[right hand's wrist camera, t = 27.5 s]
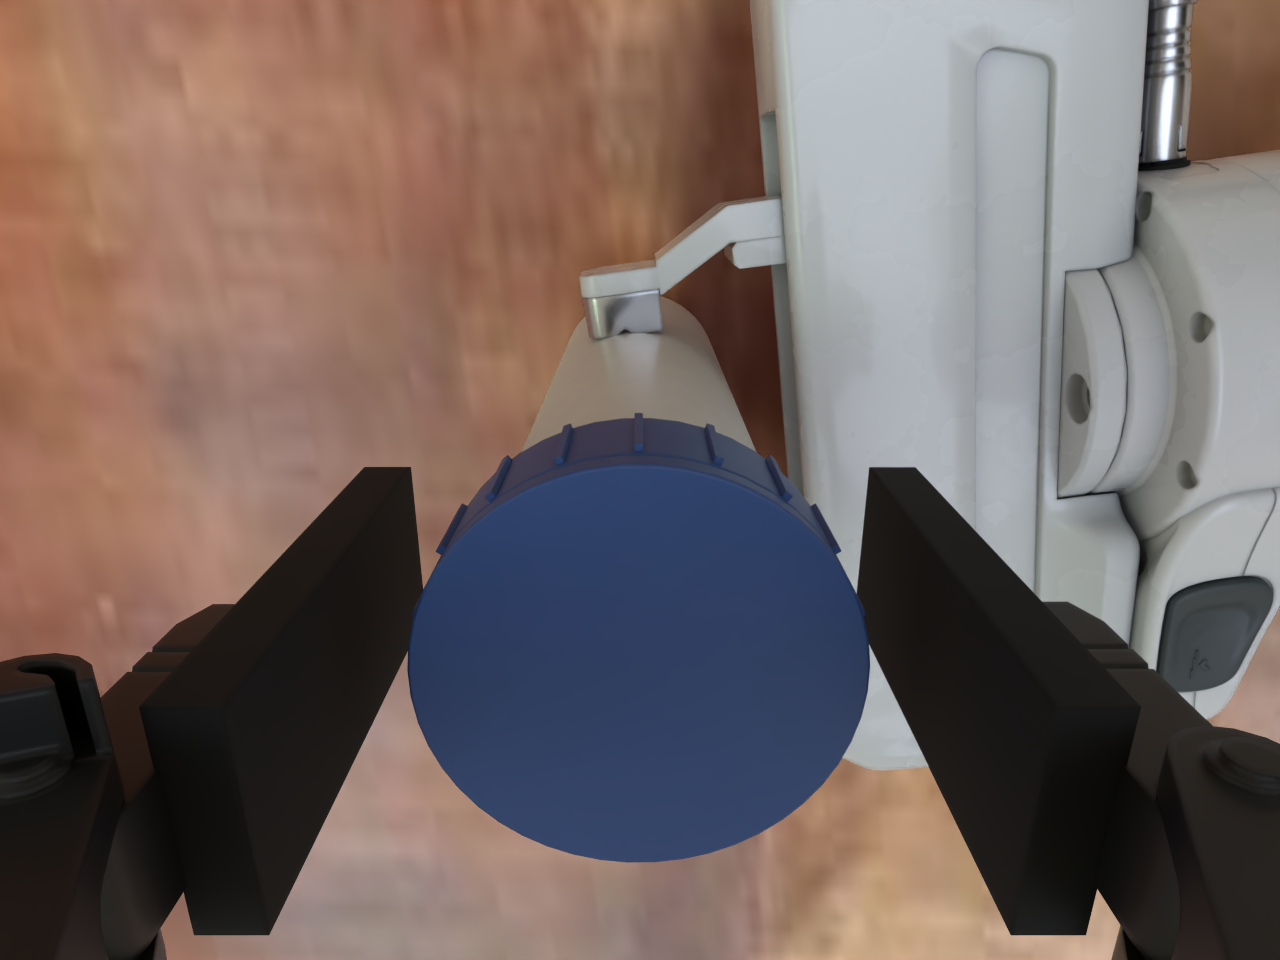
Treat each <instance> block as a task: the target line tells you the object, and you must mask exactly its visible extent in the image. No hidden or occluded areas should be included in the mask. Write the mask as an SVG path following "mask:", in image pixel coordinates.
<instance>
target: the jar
mask: <svg viewBox="0 0 1280 960" xmlns="http://www.w3.org/2000/svg"><path fill="white" fill-rule="evenodd" d="M659 297H660V306H661V315H662V325H663V331H656V332H649V333H632V332H630V331H628V330H626V329H624V330H623V331H622V332H621V333H620V334H619V335H617V336H613V337H610V338H604V339H592V338H589V334H588V328H587V323H586V317H584V318H583V319H582V320H581V321H580V322H579V324H578V325H577V327H576V328H575V330H574V332H573V334H572V336H571V338H570V340H569V342H568V345H567V347H566V349H565V352H564V354H563V356H562V359H561V361H560V363H559V366H558V368H557V370H556V373H555V375H554V377H553V380H552V382H551V384H550V387H549V389H548V391H547V394H546V396H545V399H544V401H543V403H542V406H541V408H540V410H539V413H538V415H537V417H536V420H535V422H534V424H533V427H532V429H531V431H530V434H529V436H528V438H527V441H526V443H525V446H524V448H523V450H522V452H523V451H525V450H526V449H528V448H530V447H531V446H533V445H535V444H537V443H538V442H540V441H542V440H544V439H546V438H549V437H551V436H553V435H556V434H558V433H561V432H562V429H563V426H564V425H567V424H571V425H572V427H573V428H575V427H579V426H583V425H586V424H590V423H594V422H600V421H607V420H614V419H621V418H635V413H643V418H655V419H663V420H672V421H679V422H683V423H687V424H691V425H695V426H700V427H704V428H705V426H706V424H707V423H708V424H711V425H714V427H715V431H716V432H717V433H720V434H722V435H725V436H727V437H730V438H732V439H734V440H736V441H737V442H739V443H741V444H743V445H745V446H747V447H748V448H750V449H752V450H754V451H755V452H756V450H755V448H754V445H753V443H752V441H751V438H750V436H749V433H748V431H747V429H746V426H745V424H744V421H743V419H742V417H741V414H740V412H739V410H738V407H737V405H736V402H735V400H734V398H733V395H732V393H731V391H730V388H729V386H728V383H727V381H726V379H725V376H724V374H723V372H722V369H721V367H720V364H719V362H718V360H717V357H716V355H715V353H714V350H713V348H712V345H711V343H710V341H709V338H708V336H707V334H706V332H705V330H704V329H703V327H702V325H701V324H700V323H699V321H698V320H697V319H696V318H695V317H694V316H693V315H692V314H691V313H690V312H689V311H688V310H687V309H685V308H684V307H683V306H681V305H680V304H678V303H676V302H674V301H672V300H670V299H668V298H665V297H662V296H659Z"/></svg>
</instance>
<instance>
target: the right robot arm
mask: <svg viewBox="0 0 1280 960" xmlns="http://www.w3.org/2000/svg"><path fill="white" fill-rule="evenodd" d="M422 591H423V584H422V574H421V564H420V554H419V544H418V534H417V524H416V514H415V504H414V494H413V484H412V474H411V467H364V468H363V469H362V470H361V471H360V473H359V474H358V475H357V476H356V477H355V478H354V479H353V480H352V481H351V482H350V483H349V484H348V485H347V486H346V487H345V488H344V490H343V491H342V492H341V493H340V494H339V495H338V496H337V497H336V498H335V499H334V500H333V501H332V502H331V503H330V504H329V505H328V506H327V508H326V509H325V510H324V511H323V512H322V513H321V514H320V515H319V516H318V517H317V518H316V519H315V520H314V521H313V522H312V523H311V525H310V526H309V527H308V528H307V529H306V530H305V531H304V532H303V533H302V534H301V535H300V536H299V537H298V538H297V539H296V540H295V542H294V543H293V544H292V545H291V546H290V547H289V548H288V549H287V550H286V551H285V552H284V553H283V554H282V555H281V556H280V557H279V559H278V560H277V561H276V562H275V563H274V564H273V565H272V566H271V567H270V568H269V569H268V570H267V571H266V572H265V573H264V574H263V575H262V577H261V578H260V579H259V580H258V581H257V582H256V583H255V584H254V585H253V586H252V587H251V588H250V589H249V590H248V591H247V592H246V594H245V595H244V596H243V597H242V598H241V599H240V600H239V601H238V602H237V603H236V604H213V605H211V606H209V607H207V608H205V609H203V610H202V611H200V612H198V613H196V614H194V615H192V616H191V617H189V618H187V619H185V620H183V621H182V622H180V623H178V624H176V625H175V626H174V627H173V628H172V629H171V630H170V631H169V632H168V633H167V634H166V635H165V636H164V637H163V638H162V639H161V640H160V641H159V642H158V643H157V644H156V645H155V646H154V647H153V650H152V652H147V653H146V654H145V655H144V656H143V657H142V658H141V659H140V660H139V661H138V662H137V663H136V664H135V665H134V666H133V670H132V672H127V673H126V674H125V675H124V676H123V677H122V678H121V679H120V680H119V681H118V682H116V683H115V684H114V685H113V686H112V687H111V688H110V689H109V690H108V691H107V692H106V693H105V694H104V695H103V696H102V697H101V698H100V695H99V691H98V687H97V683H96V679H95V675H94V672H93V668H92V665H91V664H90V663H88V662H87V661H85V660H84V659H82V658H81V657H79V656H73V655H65V654H57V653H52V654H41V655H30V656H23V657H19V658H15V659H11V660H6V661H2V662H0V960H167V957H166V950H165V945H164V941H163V937H162V933H161V929H160V928H161V926H162V925H163V923H164V921H165V920H166V918H167V917H168V915H169V914H170V912H171V910H172V909H173V907H174V906H175V904H176V903H177V901H178V899H179V898H180V896H181V895H182V893H183V892H184V895H185V899H186V904H187V908H188V912H189V916H190V920H191V924H192V928H193V932H194V935H269V934H270V932H271V930H272V928H273V926H274V924H275V922H276V920H277V918H278V916H279V914H280V912H281V910H282V908H283V906H284V904H285V901H286V899H287V897H288V895H289V893H290V891H291V889H292V887H293V885H294V883H295V881H296V879H297V877H298V875H299V873H300V871H301V869H302V867H303V865H304V863H305V860H306V858H307V856H308V854H309V852H310V850H311V848H312V846H313V844H314V842H315V840H316V838H317V836H318V834H319V832H320V830H321V828H322V826H323V824H324V822H325V819H326V817H327V815H328V813H329V811H330V809H331V807H332V805H333V803H334V801H335V799H336V797H337V795H338V793H339V791H340V789H341V787H342V785H343V783H344V781H345V778H346V776H347V774H348V772H349V770H350V768H351V766H352V764H353V762H354V760H355V758H356V756H357V754H358V752H359V750H360V748H361V746H362V744H363V742H364V740H365V737H366V735H367V733H368V731H369V729H370V727H371V725H372V723H373V721H374V719H375V717H376V715H377V713H378V711H379V709H380V707H381V705H382V703H383V701H384V699H385V697H386V694H387V692H388V690H389V688H390V686H391V684H392V682H393V680H394V678H395V676H396V674H397V672H398V670H399V668H400V666H401V664H402V662H403V660H404V658H405V656H406V653H407V651H408V643H409V638H410V632H411V627H412V622H413V617H414V616H412V614H413V609H414V607H415V605H416V603H417V601H418V599H419V597H420V595H421V593H422ZM857 595H858V597H859V599H860V601H861V603H862V605H863V607H864V609H865V616H864V619H865V624H866V629H867V633H868V638H869V645H870V647H871V649H872V651H873V653H874V655H875V658H876V660H877V662H878V664H879V666H880V668H881V670H882V672H883V674H884V676H885V678H886V680H887V682H888V684H889V686H890V688H891V690H892V692H893V694H894V696H895V699H896V701H897V703H898V705H899V707H900V709H901V711H902V713H903V715H904V717H905V719H906V721H907V723H908V725H909V727H910V729H911V731H912V733H913V735H914V737H915V740H916V742H917V744H918V746H919V748H920V750H921V752H922V754H923V756H924V758H925V760H926V762H927V764H928V766H929V768H930V770H931V772H932V774H933V776H934V778H935V781H936V783H937V785H938V787H939V789H940V791H941V793H942V795H943V797H944V799H945V801H946V803H947V805H948V807H949V809H950V811H951V813H952V815H953V817H954V819H955V822H956V824H957V826H958V828H959V830H960V832H961V834H962V836H963V838H964V840H965V842H966V844H967V846H968V848H969V850H970V852H971V854H972V856H973V858H974V860H975V863H976V865H977V867H978V869H979V871H980V873H981V875H982V877H983V879H984V881H985V883H986V885H987V887H988V889H989V891H990V893H991V895H992V897H993V899H994V901H995V904H996V906H997V908H998V910H999V912H1000V914H1001V916H1002V918H1003V920H1004V922H1005V924H1006V926H1007V928H1008V930H1009V932H1010V934H1011V935H1086V932H1087V928H1088V924H1089V920H1090V916H1091V912H1092V908H1093V904H1094V900H1095V895H1096V891H1097V889H1098V890H1099V892H1100V893H1101V895H1102V897H1103V898H1104V900H1105V901H1106V903H1107V904H1108V906H1109V908H1110V909H1111V911H1112V912H1113V914H1114V915H1115V917H1116V918H1117V920H1118V922H1119V923H1120V929H1119V933H1118V937H1117V941H1116V945H1115V948H1114V952H1113V956H1112V960H1280V744H1279V743H1276V742H1274V741H1272V740H1270V739H1268V738H1265V737H1262V736H1258V735H1254V734H1251V733H1247V732H1244V731H1240V730H1237V729H1232V728H1223V727H1213V726H1212V725H1211V724H1210V723H1209V722H1208V721H1207V720H1206V719H1205V718H1204V717H1203V716H1202V715H1201V714H1200V713H1199V712H1198V711H1197V710H1196V709H1195V708H1194V707H1193V706H1192V705H1191V704H1189V703H1188V702H1187V701H1186V700H1185V699H1184V698H1183V697H1182V696H1181V695H1180V694H1179V693H1178V692H1177V691H1176V690H1175V689H1174V688H1173V687H1172V686H1171V685H1170V684H1169V683H1168V682H1167V681H1166V680H1165V679H1163V678H1162V677H1161V676H1160V675H1159V674H1158V673H1157V672H1156V671H1155V670H1154V669H1149V668H1148V663H1147V662H1146V661H1145V660H1144V659H1143V658H1142V657H1141V656H1140V655H1139V654H1137V653H1136V652H1135V651H1134V650H1133V649H1128V644H1127V643H1126V642H1125V641H1124V640H1123V639H1122V638H1121V637H1120V636H1119V635H1118V634H1117V633H1116V632H1115V631H1114V630H1113V629H1112V628H1110V627H1109V626H1108V625H1107V624H1106V623H1105V622H1104V621H1103V620H1101V619H1099V618H1097V617H1095V616H1093V615H1092V614H1090V613H1088V612H1086V611H1084V610H1082V609H1081V608H1079V607H1077V606H1075V605H1073V604H1071V603H1069V602H1042V601H1041V600H1040V599H1039V598H1038V597H1037V596H1036V595H1035V594H1034V592H1033V591H1032V590H1031V589H1030V588H1029V587H1028V586H1027V585H1026V584H1025V583H1024V582H1023V581H1022V580H1021V579H1020V578H1019V577H1018V575H1017V574H1016V573H1015V572H1014V571H1013V570H1012V569H1011V568H1010V567H1009V566H1008V565H1007V564H1006V563H1005V562H1004V561H1003V560H1002V558H1001V557H1000V556H999V555H998V554H997V553H996V552H995V551H994V550H993V549H992V548H991V547H990V546H989V545H988V544H987V543H986V542H985V540H984V539H983V538H982V537H981V536H980V535H979V534H978V533H977V532H976V531H975V530H974V529H973V528H972V527H971V526H970V525H969V523H968V522H967V521H966V520H965V519H964V518H963V517H962V516H961V515H960V514H959V513H958V512H957V511H956V510H955V509H954V508H953V506H952V505H951V504H950V503H949V502H948V501H947V500H946V499H945V498H944V497H943V496H942V495H941V494H940V493H939V492H938V491H937V490H936V488H935V487H934V486H933V485H932V484H931V483H930V482H929V481H928V480H927V479H926V478H925V477H924V476H923V475H922V474H921V473H920V471H919V470H918V469H917V468H916V467H869V474H868V484H867V494H866V504H865V514H864V524H863V534H862V544H861V554H860V564H859V574H858V585H857Z"/></svg>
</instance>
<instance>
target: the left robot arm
mask: <svg viewBox="0 0 1280 960" xmlns="http://www.w3.org/2000/svg"><path fill="white" fill-rule="evenodd" d="M1197 2H1198V0H750V10H751V25H752V37H753V50H754V62H755V75H756V87H757V99H758V112H759V124H760V137H761V149H762V162H763V174H764V187H765V196H762V197H755V198H749V199H742V200H735V201H728V202H722V203H718V204H716V205H715V206H714V207H713V208H711V209H710V210H709V211H708V212H706V213H705V214H704V215H703V216H701V217H700V218H699V219H698V220H696V221H695V222H694V223H693V224H691V225H690V226H689V227H688V228H686V229H685V230H684V231H683V232H681V233H680V234H679V235H678V236H676V237H675V238H674V239H673V240H671V241H670V242H669V243H668V244H666V245H665V246H664V247H663V248H661V249H660V250H659V251H658V252H656V253H655V259H653V260H646V261H639V262H632V263H625V264H617V265H610V266H603V267H597V268H593V269H589V270H585V271H582V272H581V274H580V275H579V280H580V287H581V294H582V300H583V306H584V311H585V317H586V323H587V328H588V334H589V338H592V339H604V338H610V337H613V336H617V335H619V334H620V333H621V332H622V331H623V330H624V329H626V330H628V331H630V332H632V333H649V332H656V331H663V325H662V315H661V306H660V297H659V291H660V295H663V294H664V293H665V292H667V291H668V290H669V289H670V288H672V287H673V286H674V285H676V284H677V283H678V282H680V281H681V280H682V279H684V278H685V277H686V276H687V275H689V274H690V273H691V272H693V271H694V270H695V269H697V268H698V267H699V266H701V265H702V264H703V263H704V262H706V261H707V260H708V259H710V258H711V257H712V256H714V255H715V254H716V253H718V252H719V251H720V250H721V249H723V248H724V252H725V256H726V257H727V258H728V259H729V260H730V261H731V262H732V263H733V264H734V265H735V266H736V267H738V268H739V269H742V268H750V267H758V266H767V265H771V274H772V287H773V299H774V312H775V324H776V336H777V349H778V361H779V374H780V386H781V399H782V411H783V424H784V436H785V449H786V461H787V474H788V479H789V480H790V481H791V482H792V483H793V484H794V485H795V486H796V488H797V489H798V490H799V492H800V493H801V494H802V495H803V497H804V498H805V499H806V501H807V502H808V503H809V505H810V506H811V505H813V504H815V503H816V505H817V506H818V508H819V510H820V511H821V513H822V515H823V517H824V519H825V521H826V523H827V524H828V526H829V528H830V530H831V532H832V534H833V536H834V537H835V539H836V541H837V543H838V545H839V547H840V549H841V552H840V553H838V554H836V555H837V557H838V559H839V561H840V563H841V565H842V566H843V568H844V570H845V572H846V574H847V576H848V578H849V580H850V582H851V584H852V586H853V588H854V590H855V592H856V594H857V585H858V574H859V564H860V554H861V544H862V534H863V524H864V514H865V504H866V494H867V484H868V474H869V467H916V468H917V469H918V470H919V471H920V473H921V474H922V475H923V476H924V477H925V478H926V479H927V480H928V481H929V482H930V483H931V484H932V485H933V486H934V487H935V488H936V490H937V491H938V492H939V493H940V494H941V495H942V496H943V497H944V498H945V499H946V500H947V501H948V502H949V503H950V504H951V505H952V506H953V508H954V509H955V510H956V511H957V512H958V513H959V514H960V515H961V516H962V517H963V518H964V519H965V520H966V521H967V522H968V523H969V525H970V526H971V527H972V528H973V529H974V530H975V531H976V532H977V533H978V534H979V535H980V536H981V537H982V538H983V539H984V540H985V542H986V543H987V544H988V545H989V546H990V547H991V548H992V549H993V550H994V551H995V552H996V553H997V554H998V555H999V556H1000V557H1001V558H1002V560H1003V561H1004V562H1005V563H1006V564H1007V565H1008V566H1009V567H1010V568H1011V569H1012V570H1013V571H1014V572H1015V573H1016V574H1017V575H1018V577H1019V578H1020V579H1021V580H1022V581H1023V582H1024V583H1025V584H1026V585H1027V586H1028V587H1029V588H1030V589H1031V590H1032V591H1033V592H1034V594H1035V595H1036V596H1037V597H1038V598H1039V599H1040V600H1041V601H1042V602H1069V603H1071V604H1073V605H1075V606H1077V607H1079V608H1081V609H1082V610H1084V611H1086V612H1088V613H1090V614H1092V615H1093V616H1095V617H1097V618H1099V619H1101V620H1103V621H1104V622H1105V623H1106V624H1107V625H1108V626H1109V627H1110V628H1112V629H1113V630H1114V631H1115V632H1116V633H1117V634H1118V635H1119V636H1120V637H1121V638H1122V639H1123V640H1124V641H1125V642H1126V643H1127V644H1128V649H1133V650H1134V651H1135V652H1136V653H1137V654H1139V655H1140V656H1141V657H1142V658H1143V659H1144V660H1145V661H1146V662H1147V663H1148V668H1149V669H1154V670H1155V671H1156V672H1157V673H1158V674H1159V675H1160V676H1161V677H1162V678H1163V679H1165V680H1166V681H1167V682H1168V683H1169V684H1170V685H1171V686H1172V687H1173V688H1174V689H1175V690H1176V691H1177V692H1178V693H1179V694H1180V695H1181V696H1182V697H1183V698H1184V699H1185V700H1186V701H1187V702H1188V703H1189V704H1191V705H1192V706H1193V707H1194V708H1195V709H1196V710H1197V711H1198V712H1199V713H1200V714H1201V715H1202V716H1203V717H1204V718H1205V719H1206V720H1207V719H1210V718H1212V717H1214V716H1215V715H1217V714H1218V713H1219V712H1220V711H1222V710H1223V709H1224V707H1225V706H1226V705H1227V704H1228V702H1229V701H1230V699H1231V698H1232V696H1233V695H1234V693H1235V691H1236V689H1237V687H1238V685H1239V683H1240V681H1241V679H1242V677H1243V675H1244V673H1245V671H1246V669H1247V667H1248V665H1249V663H1250V661H1251V659H1252V657H1253V655H1254V653H1255V651H1256V649H1257V647H1258V645H1259V643H1260V641H1261V639H1262V638H1263V636H1264V634H1265V632H1266V630H1267V628H1268V627H1269V625H1270V623H1271V621H1272V619H1273V618H1274V616H1275V614H1276V612H1277V610H1278V609H1279V607H1280V149H1279V150H1272V151H1265V152H1258V153H1251V154H1244V155H1237V156H1230V157H1223V158H1216V159H1209V160H1198V161H1191V160H1187V146H1188V135H1189V122H1190V110H1191V98H1192V72H1190V69H1191V68H1192V62H1191V59H1190V58H1189V56H1190V55H1191V45H1189V42H1190V41H1191V30H1189V28H1191V26H1192V17H1193V8H1194V4H1197ZM869 652H870V674H869V684H868V693H867V697H866V701H865V705H864V709H863V713H862V717H861V720H860V722H859V725H858V727H857V729H856V732H855V734H854V737H853V739H852V742H851V743H850V745H849V747H848V749H847V750H846V752H845V754H844V755H843V757H842V758H844V759H846V760H848V761H850V762H852V763H854V764H856V765H858V766H860V767H863V768H866V769H870V770H903V769H913V768H923V767H929V766H928V764H927V762H926V760H925V758H924V756H923V754H922V752H921V750H920V748H919V746H918V744H917V742H916V740H915V737H914V735H913V733H912V731H911V729H910V727H909V725H908V723H907V721H906V719H905V717H904V715H903V713H902V711H901V709H900V707H899V705H898V703H897V701H896V699H895V696H894V694H893V692H892V690H891V688H890V686H889V684H888V682H887V680H886V678H885V676H884V674H883V672H882V670H881V668H880V666H879V664H878V662H877V660H876V658H875V655H874V653H873V651H872V649H871V647H870V645H869Z"/></svg>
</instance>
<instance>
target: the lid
mask: <svg viewBox="0 0 1280 960" xmlns="http://www.w3.org/2000/svg"><path fill="white" fill-rule="evenodd" d="M436 552H437V553H439V554H441V557H440V559H439V561H438V563H437V565H436V567H435V568H434V570H433V572H432V574H431V576H430V578H429V580H428V582H427V584H426V586H425V588H424V590H423V591H422V593H421V595H420V597H419V599H418V601H417V603H416V605H415V607H414V609H413V614H412V616H414V617H413V622H412V627H411V632H410V638H409V643H408V678H409V686H410V694H411V699H412V702H413V706H414V710H415V713H416V717H417V720H418V723H419V726H420V728H421V730H422V732H423V735H424V737H425V739H426V741H427V744H428V746H429V748H430V749H431V751H432V752H433V754H434V756H435V757H436V759H437V761H438V762H439V764H440V765H441V767H442V768H443V770H444V771H445V772H446V773H447V775H448V776H449V777H450V778H451V779H452V781H453V782H454V783H455V784H456V786H457V787H458V788H459V789H460V790H461V791H462V792H463V793H464V794H465V795H466V796H467V797H469V798H470V799H471V800H472V801H473V802H474V803H475V804H476V805H477V806H478V807H479V808H481V809H482V810H484V811H485V812H486V813H488V814H489V815H490V816H492V817H493V818H494V819H496V820H497V821H498V822H500V823H502V824H503V825H505V826H507V827H509V828H510V829H512V830H514V831H516V832H517V833H519V834H521V835H523V836H525V837H527V838H529V839H532V840H534V841H536V842H539V843H541V844H543V845H546V846H548V847H551V848H554V849H558V850H561V851H564V852H567V853H570V854H574V855H579V856H584V857H589V858H594V859H599V860H608V861H619V862H660V861H669V860H678V859H685V858H689V857H694V856H698V855H703V854H708V853H711V852H714V851H717V850H720V849H723V848H726V847H729V846H732V845H735V844H737V843H740V842H742V841H744V840H746V839H748V838H750V837H753V836H755V835H757V834H759V833H761V832H763V831H764V830H766V829H768V828H769V827H771V826H773V825H774V824H776V823H778V822H779V821H781V820H783V819H784V818H785V817H786V816H788V815H789V814H790V813H792V812H793V811H794V810H795V809H797V808H798V807H799V806H801V805H802V804H803V803H804V802H805V801H806V800H807V799H808V798H809V797H810V796H811V795H812V794H813V793H814V792H815V791H816V790H817V789H818V788H819V787H821V786H822V784H823V783H824V782H825V781H826V779H827V778H828V777H829V775H830V774H831V773H832V772H833V770H834V769H835V768H836V767H837V765H838V764H839V762H840V760H841V759H842V757H843V755H844V754H845V752H846V750H847V749H848V747H849V745H850V743H851V742H852V739H853V737H854V734H855V732H856V729H857V727H858V725H859V722H860V720H861V717H862V713H863V709H864V705H865V701H866V697H867V693H868V684H869V674H870V652H869V638H868V633H867V629H866V624H865V619H864V616H865V609H864V607H863V605H862V603H861V601H860V599H859V597H858V595H857V594H856V592H855V590H854V588H853V586H852V584H851V582H850V580H849V578H848V576H847V574H846V572H845V570H844V568H843V566H842V565H841V563H840V561H839V559H838V557H837V555H836V554H838V553H840V552H841V549H840V547H839V545H838V543H837V541H836V539H835V537H834V536H833V534H832V532H831V530H830V528H829V526H828V524H827V523H826V521H825V519H824V517H823V515H822V513H821V511H820V510H819V508H818V506H817V505H816V503H815V504H813V505H811V506H810V505H809V503H808V502H807V501H806V499H805V498H804V497H803V495H802V494H801V493H800V492H799V490H798V489H797V488H796V486H795V485H794V484H793V483H792V482H791V481H790V480H789V479H788V478H787V477H786V476H785V475H784V474H783V473H782V472H781V470H780V468H779V466H778V464H777V462H776V460H775V459H774V458H773V457H772V456H771V455H769V456H768V457H767V459H765V458H763V457H762V456H761V455H759V454H758V453H757V452H755V451H754V450H752V449H750V448H748V447H747V446H745V445H743V444H741V443H739V442H737V441H736V440H734V439H732V438H730V437H727V436H725V435H722V434H720V433H717V432H716V431H715V427H714V425H711V424H708V423H707V424H706V426H705V428H704V427H700V426H695V425H691V424H687V423H683V422H679V421H672V420H663V419H655V418H643V413H635V418H621V419H614V420H607V421H600V422H594V423H590V424H586V425H583V426H579V427H575V428H573V427H572V425H571V424H567V425H564V426H563V429H562V432H561V433H558V434H556V435H553V436H551V437H549V438H546V439H544V440H542V441H540V442H538V443H537V444H535V445H533V446H531V447H530V448H528V449H526V450H525V451H523V452H521V453H519V454H518V455H517V456H516V457H514V458H513V459H511V458H510V457H509V456H506V457H505V458H504V459H502V461H501V463H500V465H499V467H498V470H497V472H496V473H495V474H494V475H493V476H492V477H491V478H490V479H489V480H488V481H487V482H486V483H485V484H484V485H483V486H482V487H481V488H480V490H479V491H478V493H477V494H476V495H475V497H474V498H473V499H472V501H471V502H470V504H469V505H468V506H466V505H464V504H462V505H461V506H460V508H459V509H458V511H457V513H456V515H455V517H454V519H453V520H452V522H451V524H450V526H449V528H448V530H447V532H446V533H445V535H444V537H443V539H442V541H441V543H440V544H439V546H438V548H437V550H436Z"/></svg>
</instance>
